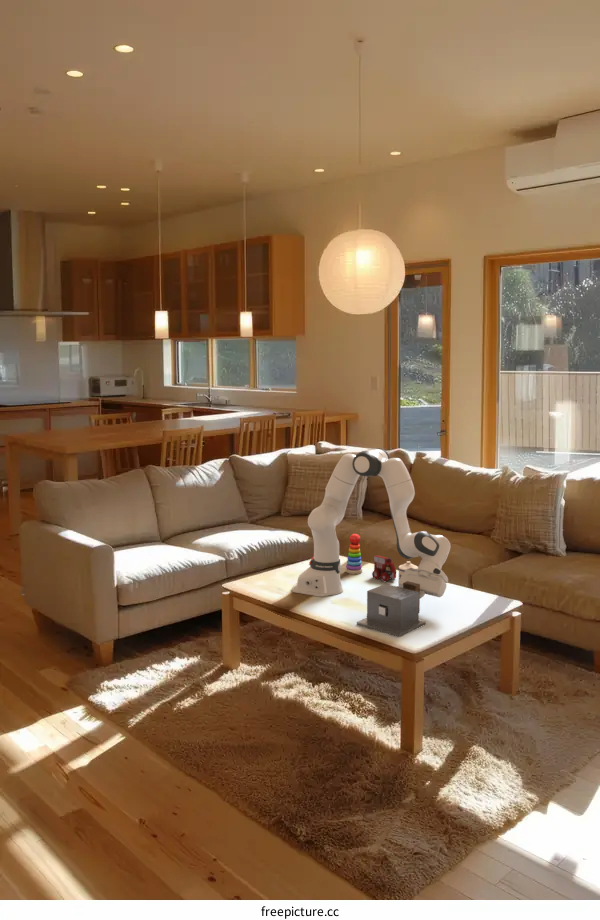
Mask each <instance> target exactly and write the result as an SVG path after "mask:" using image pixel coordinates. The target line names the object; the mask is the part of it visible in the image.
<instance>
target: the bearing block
mask: <svg viewBox="0 0 600 920" xmlns="http://www.w3.org/2000/svg"><path fill="white" fill-rule="evenodd" d="M366 594H367V595H366V606H367V607H366V617H365V618H362V619H361V620H358V621H356V626H359V627H363V628H366V629H369V630H373V631H376V632H379V633H381V634H386V635H388V636H392V637H396V638H401V637H403V636H404V635H407V634H409V633H411V632H414V631H415V630H418V629H419V627H420V628H421V626H422V627H424V626H426V625H427V621H425V620H422V619H419V615H420V609H419V592H416V591H412V590H408V589H404V588H400V587H399V586H396V585H391V584H387V583H384V584H382V585H380V586H379V585H378V586H376V587H374V588H372V589H369V590H367V591H366ZM381 605H384V606H388V615H386V616H385V615H381V614H379V606H381ZM425 624H426V625H425ZM423 625H424V626H423ZM417 628H418V629H417Z"/></svg>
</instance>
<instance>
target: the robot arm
mask: <svg viewBox="0 0 600 920" xmlns="http://www.w3.org/2000/svg"><path fill="white" fill-rule="evenodd" d="M360 476H361V477H368V478H369V477H381V478H382V480H383V483H384V485H385V489H386V492H387V495H388V500H389V510H390V515H391V521H392V524H393V528H394V532H395V536H396V549H397V552H398V554H399V555H400V556H401V557H402V558H404V559H406V560H410V559H414V558H417V557H420V558H421V561H420V563H419V565H418V569H413V568H409V569H406V570H405V572H404V573H403V575H402V576H401V578H400V579H399V578H398V582H397V583H398V586H399V585H400V587H401V588H403V583H404V582H407V581H409V582H413V583H417V584H420V599H422V598H424V596H425V595H429V596H432V597H436V598H441V597H443V596H444V593H445V591H446V589H447V583H448V582H449V578H448V576H447V574H445V572H444V571H443V570H442V568H443V565H444V564H445V562H446V561H447V559H448V556H449V554H450V551H451V542H450V541H449V539H448V538H447V537H445V536H443V535H441V534H431V533H429V532H427V531H426V530H423V531H422V530H421V531H417V532H413V533H412V531H411V528H410V525H409V520H408V516H407V511H408V507H409V505H410V504H411V503H412V502H413V500H414V498H415V495H416V492H415V487H414V486H415V485H414V483H413V480H412V477H411V474H410V472H409V470H408V469H407V467H406V465H405V463H404V462H403V460H402V459H401V458H399V457H391V456H390V453H389V452H388V451H387V450H385V449H384V448H379V447H376V448H368V449H366V450H362V451H359V452H358V453H357V454H353V453H345V454H343V455H342V456H341V458H340V459H339V461H338V462H337V463H336V465H335V467H334V469H333V471H332V473H331V476H330V478H329V480H328V483H327V484H326V486H325V489H324V490H325V493H324V497H323V500H322V502H321V504H320V505H319V506H317V507H315V508H314V509H312V511H311V512H310V513H309V515H308V516H307V517H308V518H307V525H308V528H309V529H310V530H311V535H312V538H313V556H312V557H311V559H310V560H309V564H308V565H309V567H308V568H306V569H305V570H303V571H302V572H301V573H300V574H299V575H298V577H297V580H296V581H297V582H296V583H295V584H294V585H292V587H291V588H292V589H291V591H292V593H297V594H302V595H303V594H304V595H309V596H314V597H321V598H322V597H327V596H334V595H338V594H341V593H343V591H344V590H343V585H342V580H341V564H342V563H341V559H340V541H339V539H338V537H337V533H336V526H337V525H339V524H340V523H341V522H342V521H343V519H344V517H345V514H346V509H347V507H348V502H349V500H350V498H351V495H352V493H353V491H354V488H355V487H356V485H357V482H358V480H359V478H360Z"/></svg>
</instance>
